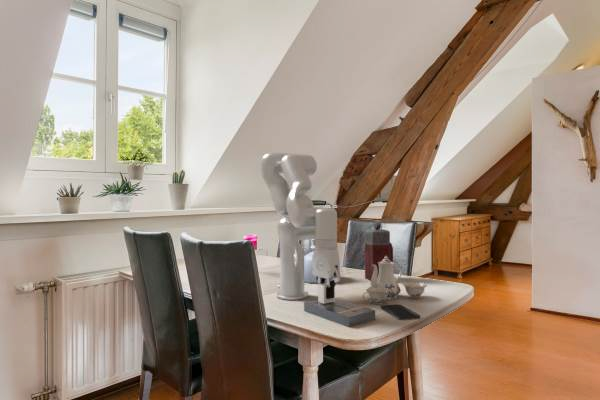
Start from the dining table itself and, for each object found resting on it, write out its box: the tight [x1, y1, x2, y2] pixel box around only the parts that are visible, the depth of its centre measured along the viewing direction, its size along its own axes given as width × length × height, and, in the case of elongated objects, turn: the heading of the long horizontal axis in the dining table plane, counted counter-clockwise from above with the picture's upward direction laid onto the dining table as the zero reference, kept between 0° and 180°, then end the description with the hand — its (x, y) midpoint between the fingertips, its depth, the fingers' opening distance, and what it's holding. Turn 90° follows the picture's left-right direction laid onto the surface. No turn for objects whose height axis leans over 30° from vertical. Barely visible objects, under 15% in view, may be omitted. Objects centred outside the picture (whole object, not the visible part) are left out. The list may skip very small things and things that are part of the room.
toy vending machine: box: [364, 219, 394, 282], centre depth 195 cm, size 9×11×28 cm
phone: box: [380, 303, 421, 321], centre depth 140 cm, size 8×1×15 cm
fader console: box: [303, 298, 376, 328], centre depth 138 cm, size 22×12×3 cm, turn 37°
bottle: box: [304, 239, 341, 285], centre depth 196 cm, size 20×20×19 cm
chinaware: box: [362, 256, 427, 306], centre depth 159 cm, size 28×17×17 cm, turn 121°
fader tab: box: [317, 283, 336, 304], centre depth 143 cm, size 3×5×6 cm, turn 127°
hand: (326, 296), depth 143 cm, fingers closed on fader tab, 3 cm apart
